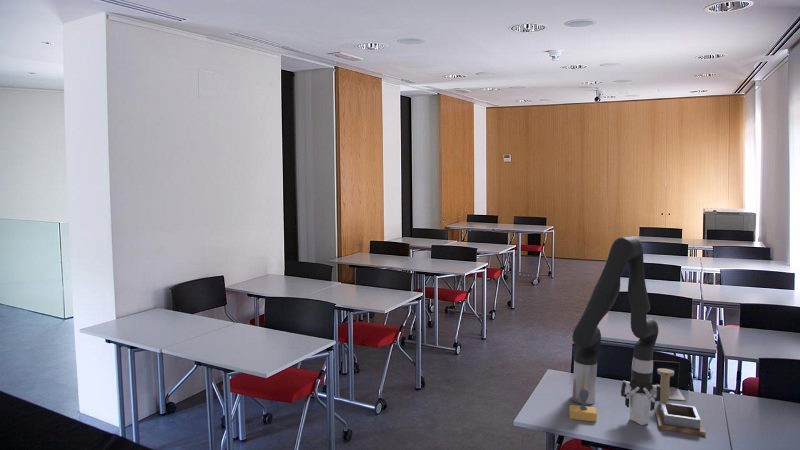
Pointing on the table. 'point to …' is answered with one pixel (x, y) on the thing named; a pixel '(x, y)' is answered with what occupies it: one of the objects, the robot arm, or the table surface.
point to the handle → (664, 383)
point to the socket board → (679, 419)
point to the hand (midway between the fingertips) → (639, 408)
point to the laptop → (675, 366)
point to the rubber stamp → (583, 409)
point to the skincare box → (639, 408)
